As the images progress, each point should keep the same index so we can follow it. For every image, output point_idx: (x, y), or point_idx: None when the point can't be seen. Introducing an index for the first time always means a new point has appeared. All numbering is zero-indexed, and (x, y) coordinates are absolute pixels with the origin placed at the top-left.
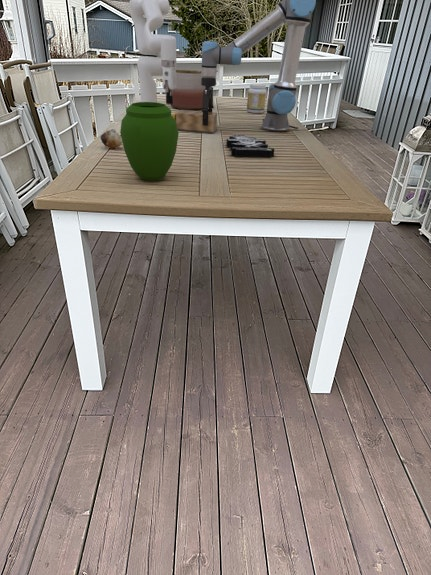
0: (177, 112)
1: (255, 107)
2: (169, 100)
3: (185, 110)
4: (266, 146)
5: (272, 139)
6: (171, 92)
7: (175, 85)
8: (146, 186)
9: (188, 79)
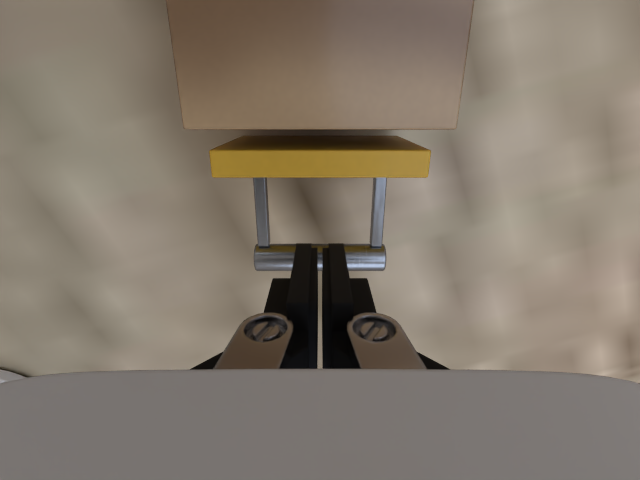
0: (420, 117)
1: None
2: (369, 296)
3: (209, 48)
4: None
5: None
6: (282, 368)
7: (96, 466)
8: None
9: None
